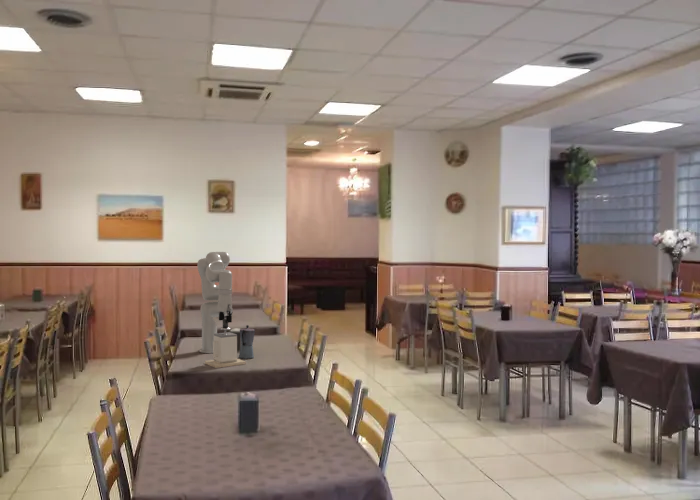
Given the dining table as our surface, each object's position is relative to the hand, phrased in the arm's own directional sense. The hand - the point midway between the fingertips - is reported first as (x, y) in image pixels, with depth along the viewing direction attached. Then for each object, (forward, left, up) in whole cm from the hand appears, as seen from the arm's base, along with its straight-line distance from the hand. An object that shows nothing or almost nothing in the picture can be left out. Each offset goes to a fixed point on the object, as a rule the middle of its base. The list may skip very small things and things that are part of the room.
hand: (225, 321), depth 384 cm
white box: (0, 0, -25) cm, 25 cm away
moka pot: (-8, +18, -25) cm, 32 cm away
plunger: (0, 0, -22) cm, 22 cm away
